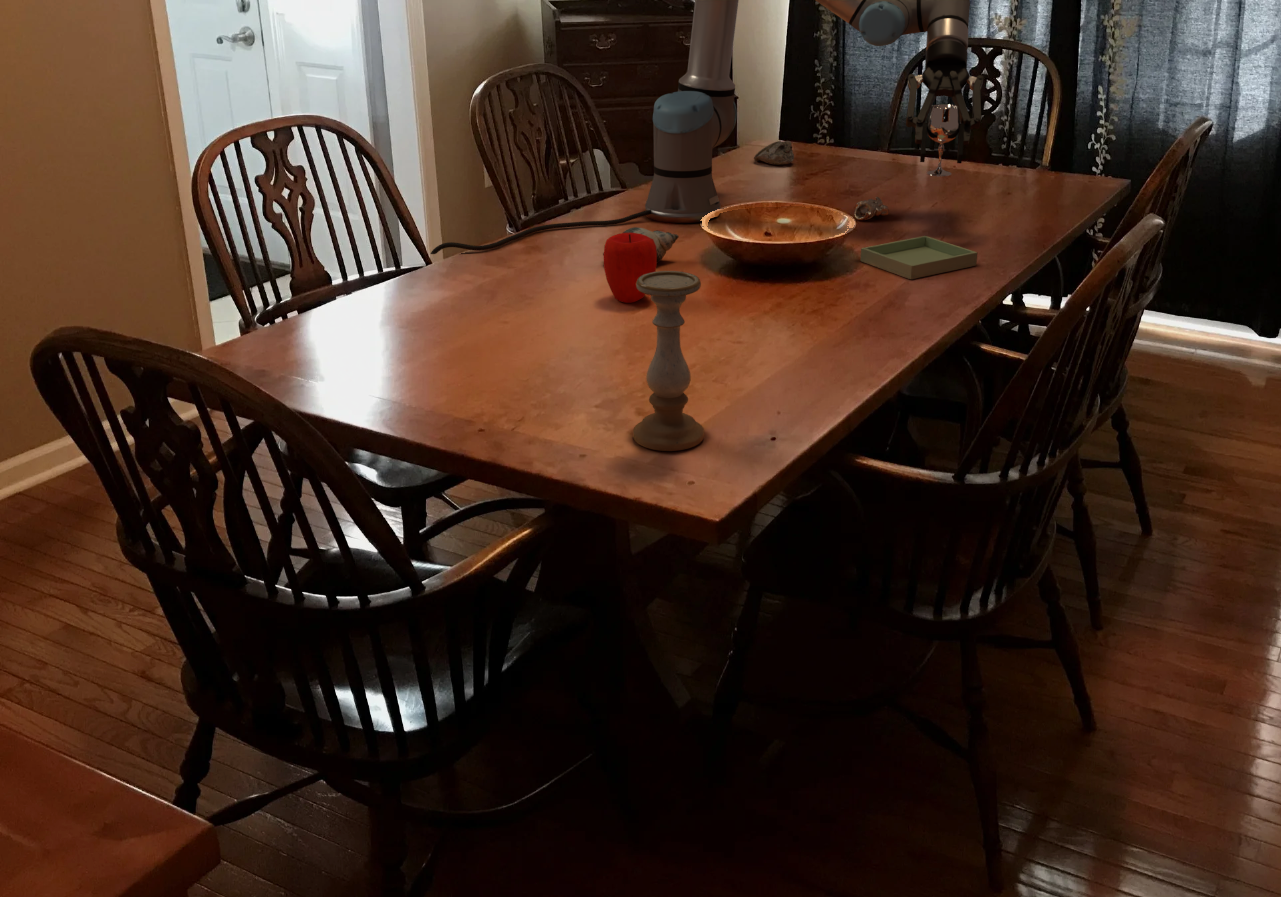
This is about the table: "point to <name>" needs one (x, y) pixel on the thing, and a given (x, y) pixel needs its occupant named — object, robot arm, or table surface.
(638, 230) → the seashell
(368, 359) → the table surface
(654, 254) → the apple
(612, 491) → the table surface
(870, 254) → the tray
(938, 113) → the wineglass
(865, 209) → the ornament
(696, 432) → the candle holder
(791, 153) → the grey rock
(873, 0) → the robot arm
